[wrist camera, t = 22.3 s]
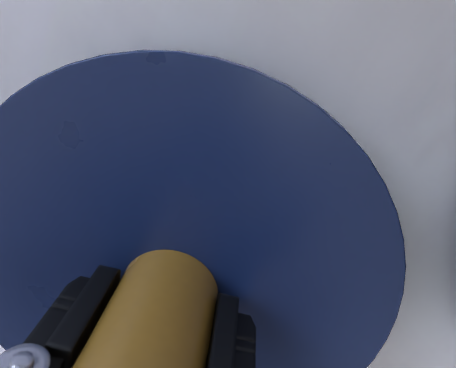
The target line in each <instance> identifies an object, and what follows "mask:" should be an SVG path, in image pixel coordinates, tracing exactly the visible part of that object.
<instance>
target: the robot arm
mask: <svg viewBox="0 0 456 368" xmlns="http://www.w3.org/2000/svg"><path fill="white" fill-rule="evenodd" d="M120 277H121V270H120V269H116V268H112V267H108V266H103V265H99V266H98V267H97V269H96V270H95V272H94V273H93V275H92V276H91V277H90V278H88V277H84V276H79V277H78V278H76V279H75V280H73V281H71V282H70V283H68V284H67V285H66V287H65V288H64V289H63V291H62V292H61V293H60V295H59V297H57V299H56V300H55V301H54V303H53V304H52V306H51V307H50V308H49V309H48V311H47V312H46V313H45V315H44V316H43V317H42V319H41V320H40V321H39V323H38V324H37V325H36V327H35V328H34V329H33V330H32V332H31V333H30V334H29V336H28V337H27V338H26V340H25V341H24V342H23V343H22V344H19V345H16V346H14V347H11V348H9V349H7V350H6V351H4V352H3V353H2V354H1V355H0V368H71V367H72V365H73V364H74V362H75V360H76V358H77V357H78V355H79V353H80V351H81V349H82V348H83V346H84V344H85V342H86V340H87V339H88V337H89V335H90V333H91V331H92V330H93V328H94V326H95V324H96V322H97V321H98V319H99V317H100V315H101V313H102V312H103V310H104V308H105V306H106V304H107V303H108V301H109V299H110V297H111V295H112V294H113V292H114V290H115V288H116V286H117V285H118V283H119V281H120ZM238 308H239V297H236V296H232V295H227V294H223V293H219V296H218V299H217V303H216V309H215V315H214V322H213V328H212V334H211V341H210V347H209V353H208V359H207V366H206V368H256V354H255V353H256V326H255V324H254V322H253V320H252V317H251V315H247V314H243V313H238Z"/></svg>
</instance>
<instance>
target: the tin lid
mask: <svg viewBox="0 0 456 368" xmlns="http://www.w3.org/2000/svg"><path fill="white" fill-rule="evenodd" d="M99 265H103V266H108V267H112V268H116V269H120V270H121V277H120V281H119V283H118V285H117V286H116V288H115V290H114V292H113V294H112V295H111V297H110V299H109V301H108V303H107V304H106V306H105V308H104V310H103V312H102V313H101V315H100V317H99V319H98V321H97V322H96V324H95V326H94V328H93V330H92V331H91V333H90V335H89V337H88V339H87V340H86V342H85V344H84V346H83V348H82V349H81V351H80V353H79V355H78V357H77V358H76V360H75V362H74V364H73V365H72V367H71V368H206V366H207V359H208V353H209V347H210V341H211V334H212V328H213V322H214V315H215V309H216V303H217V299H218V296H219V293H223V294H227V295H232V296H236V297H239V308H238V313H243V314H247V315H251V317H252V320H253V322H254V324H255V326H256V353H255V354H256V368H367V367H368V366H369V364H370V363H371V362H372V361H373V360H374V359H375V357H376V356H377V354H378V352H379V351H380V349H381V348H382V346H383V345H384V343H385V342H386V340H387V338H388V336H389V334H390V332H391V329H392V327H393V325H394V323H395V320H396V318H397V315H398V311H399V308H400V304H401V300H402V296H403V291H404V281H405V271H406V262H405V248H404V238H403V234H402V230H401V226H400V221H399V217H398V213H397V210H396V208H395V206H394V203H393V201H392V198H391V196H390V194H389V191H388V189H387V187H386V184H385V183H384V181H383V179H382V178H381V176H380V174H379V173H378V171H377V170H376V168H375V166H374V165H373V163H372V162H371V160H370V158H369V157H368V155H367V154H366V153H365V152H364V151H363V150H362V148H361V147H360V146H359V145H358V144H357V143H356V141H355V140H354V139H353V138H352V137H351V135H350V134H349V133H348V132H347V131H346V130H345V128H344V127H343V126H341V125H340V124H339V123H338V122H337V121H336V120H335V119H333V118H332V117H331V116H330V115H329V114H328V113H327V112H326V111H324V110H323V109H322V108H321V107H320V106H319V105H318V104H316V103H315V102H313V101H312V100H310V99H308V98H307V97H305V96H304V95H302V94H301V93H299V92H298V91H296V90H295V89H293V88H292V87H290V86H289V85H287V84H285V83H283V82H281V81H279V80H277V79H274V78H272V77H270V76H268V75H266V74H264V73H262V72H260V71H257V70H255V69H253V68H250V67H247V66H244V65H241V64H237V63H234V62H231V61H228V60H225V59H221V58H218V57H214V56H208V55H202V54H196V53H190V52H184V51H167V50H137V51H129V52H120V53H112V54H105V55H100V56H96V57H93V58H89V59H85V60H82V61H78V62H74V63H71V64H67V65H65V66H63V67H61V68H59V69H56V70H54V71H52V72H50V73H47V74H45V75H43V76H41V77H39V78H37V79H35V80H34V81H32V82H31V83H29V84H28V85H26V86H25V87H23V88H22V89H20V90H19V91H17V92H16V93H14V94H13V95H11V96H10V97H9V98H8V99H7V100H6V101H5V102H4V103H3V104H2V105H1V106H0V345H1V346H2V347H3V348H4V349H5V350H7V349H9V348H11V347H14V346H16V345H19V344H22V343H23V342H24V341H25V340H26V338H27V337H28V336H29V334H30V333H31V332H32V330H33V329H34V328H35V327H36V325H37V324H38V323H39V321H40V320H41V319H42V317H43V316H44V315H45V313H46V312H47V311H48V309H49V308H50V307H51V306H52V304H53V303H54V301H55V300H56V299H57V297H59V295H60V293H61V292H62V291H63V289H64V288H65V287H66V285H67V284H68V283H70V282H71V281H73V280H75V279H76V278H78V277H79V276H84V277H88V278H90V277H91V276H92V275H93V273H94V272H95V270H96V269H97V267H98V266H99Z"/></svg>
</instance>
